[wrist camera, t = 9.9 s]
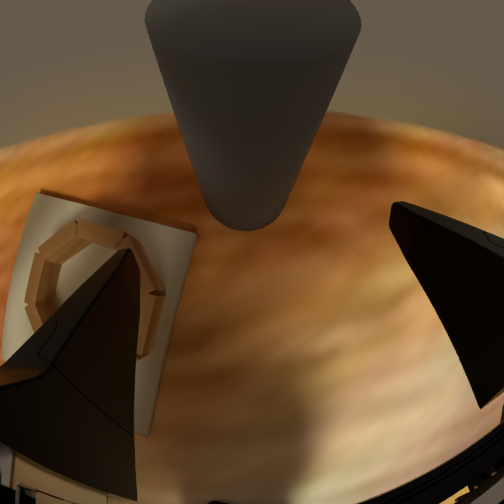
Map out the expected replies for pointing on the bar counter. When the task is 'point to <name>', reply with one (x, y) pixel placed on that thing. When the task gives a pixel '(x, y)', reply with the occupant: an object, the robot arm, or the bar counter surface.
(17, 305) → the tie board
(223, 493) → the bar counter surface
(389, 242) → the bar counter surface
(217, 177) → the dark grey cylinder
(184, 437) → the bar counter surface
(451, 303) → the robot arm
